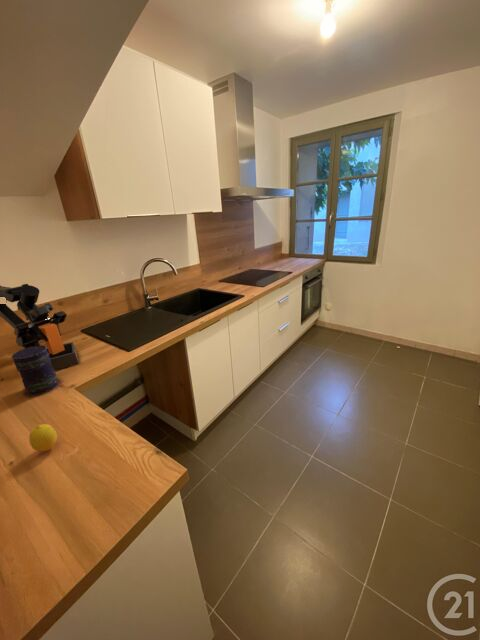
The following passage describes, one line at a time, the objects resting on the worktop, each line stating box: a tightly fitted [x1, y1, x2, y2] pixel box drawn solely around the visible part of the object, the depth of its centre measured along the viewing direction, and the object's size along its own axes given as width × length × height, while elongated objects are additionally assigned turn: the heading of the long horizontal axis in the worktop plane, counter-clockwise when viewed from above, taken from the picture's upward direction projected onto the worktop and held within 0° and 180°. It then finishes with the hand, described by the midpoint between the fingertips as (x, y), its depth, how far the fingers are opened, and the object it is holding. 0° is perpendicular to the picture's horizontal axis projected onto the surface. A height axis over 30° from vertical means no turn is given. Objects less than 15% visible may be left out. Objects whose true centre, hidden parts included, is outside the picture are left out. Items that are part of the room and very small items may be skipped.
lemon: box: [28, 423, 58, 452], centre depth 68 cm, size 6×6×8 cm
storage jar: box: [11, 345, 59, 396], centre depth 94 cm, size 10×10×15 cm
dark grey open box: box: [46, 341, 80, 372], centre depth 113 cm, size 14×13×6 cm
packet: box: [39, 323, 65, 355], centre depth 110 cm, size 3×5×12 cm
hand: (54, 338), depth 110 cm, fingers closed on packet, 5 cm apart
